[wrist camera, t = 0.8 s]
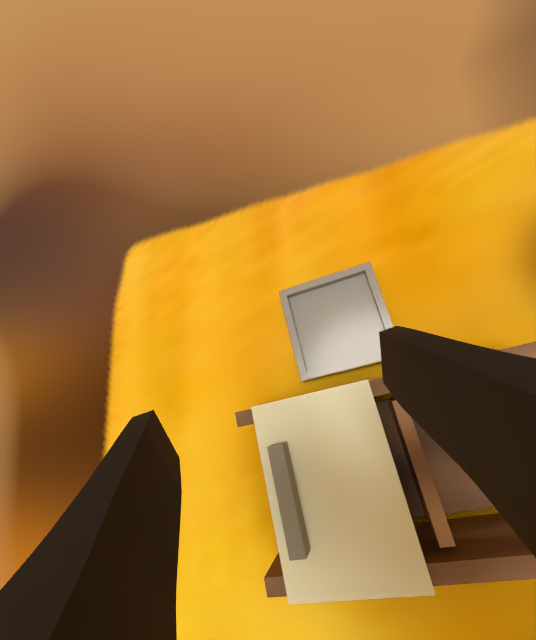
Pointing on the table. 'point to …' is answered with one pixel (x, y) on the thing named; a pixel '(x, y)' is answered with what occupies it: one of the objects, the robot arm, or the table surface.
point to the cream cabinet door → (337, 499)
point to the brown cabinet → (440, 506)
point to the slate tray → (336, 322)
